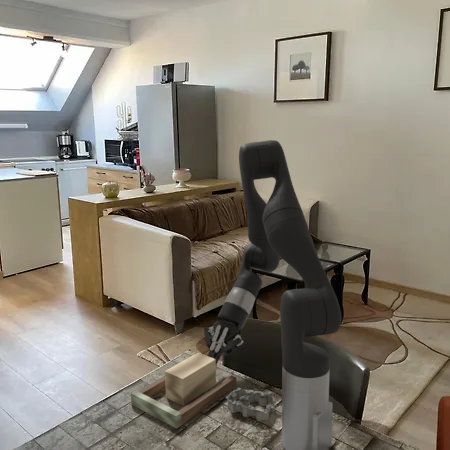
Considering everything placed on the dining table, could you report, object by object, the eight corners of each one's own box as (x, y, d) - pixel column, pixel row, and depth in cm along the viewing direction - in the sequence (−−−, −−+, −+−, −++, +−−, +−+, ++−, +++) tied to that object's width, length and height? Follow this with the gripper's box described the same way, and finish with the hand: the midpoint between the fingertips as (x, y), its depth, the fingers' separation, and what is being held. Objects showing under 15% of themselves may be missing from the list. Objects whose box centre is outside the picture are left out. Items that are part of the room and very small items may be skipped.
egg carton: (278, 408, 107) (278, 392, 106) (264, 426, 101) (264, 409, 100) (239, 395, 113) (239, 380, 112) (223, 411, 106) (222, 395, 106)
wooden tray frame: (236, 386, 116) (236, 375, 116) (176, 428, 100) (176, 416, 99) (192, 368, 126) (192, 358, 125) (131, 404, 109) (130, 393, 109)
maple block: (216, 384, 118) (215, 359, 116) (183, 406, 108) (182, 379, 107) (198, 377, 121) (197, 352, 120) (165, 397, 112) (164, 371, 111)
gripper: (212, 296, 127) (183, 353, 121) (250, 306, 119) (222, 369, 112) (224, 308, 132) (197, 364, 126) (262, 319, 124) (235, 379, 117)
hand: (209, 366), depth 119 cm, fingers closed
